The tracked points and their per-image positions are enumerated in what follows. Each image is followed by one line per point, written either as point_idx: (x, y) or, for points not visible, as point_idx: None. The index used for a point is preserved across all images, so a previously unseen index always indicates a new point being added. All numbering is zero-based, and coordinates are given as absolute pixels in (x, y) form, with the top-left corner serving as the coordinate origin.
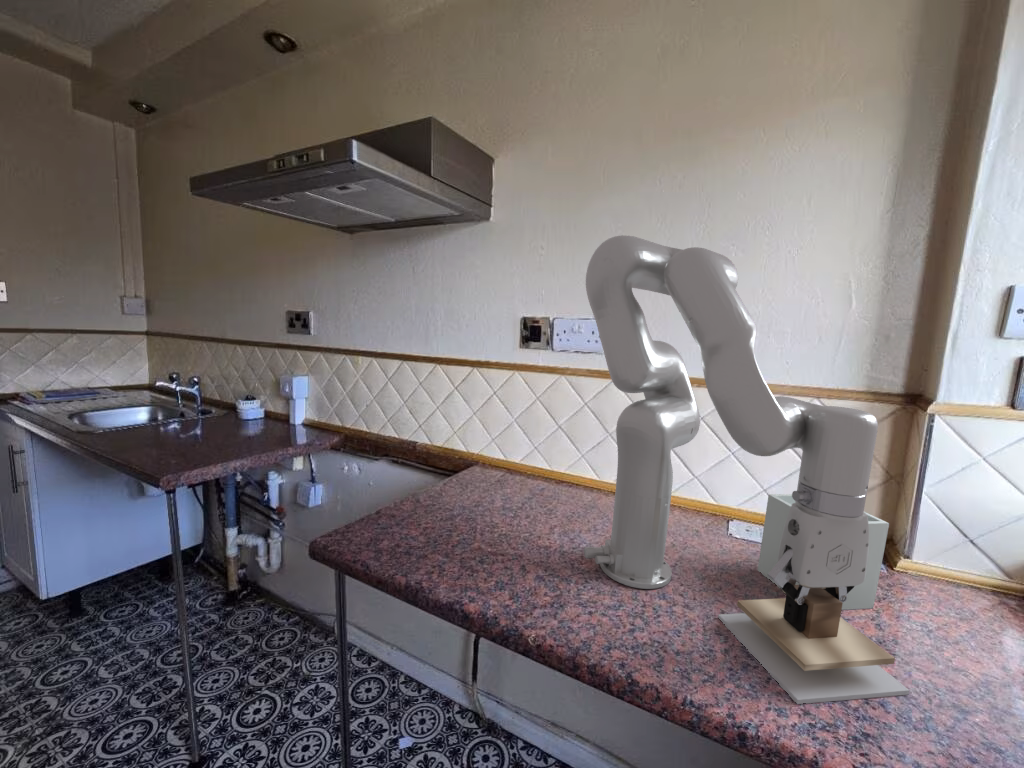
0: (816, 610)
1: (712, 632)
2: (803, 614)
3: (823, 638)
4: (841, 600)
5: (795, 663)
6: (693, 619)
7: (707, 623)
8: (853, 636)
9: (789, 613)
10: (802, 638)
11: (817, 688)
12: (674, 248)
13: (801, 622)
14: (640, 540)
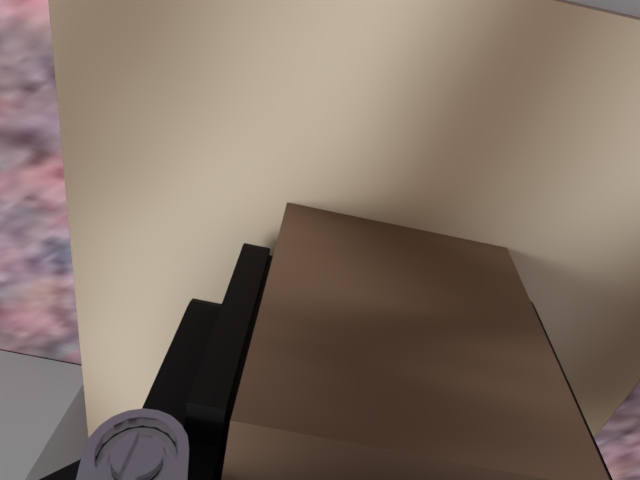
0: (539, 414)
1: (634, 404)
2: (576, 403)
3: (398, 219)
4: (150, 430)
5: None
6: (624, 461)
7: (595, 436)
8: (160, 169)
9: None
10: (544, 260)
11: (631, 13)
12: None
13: (553, 349)
14: None
